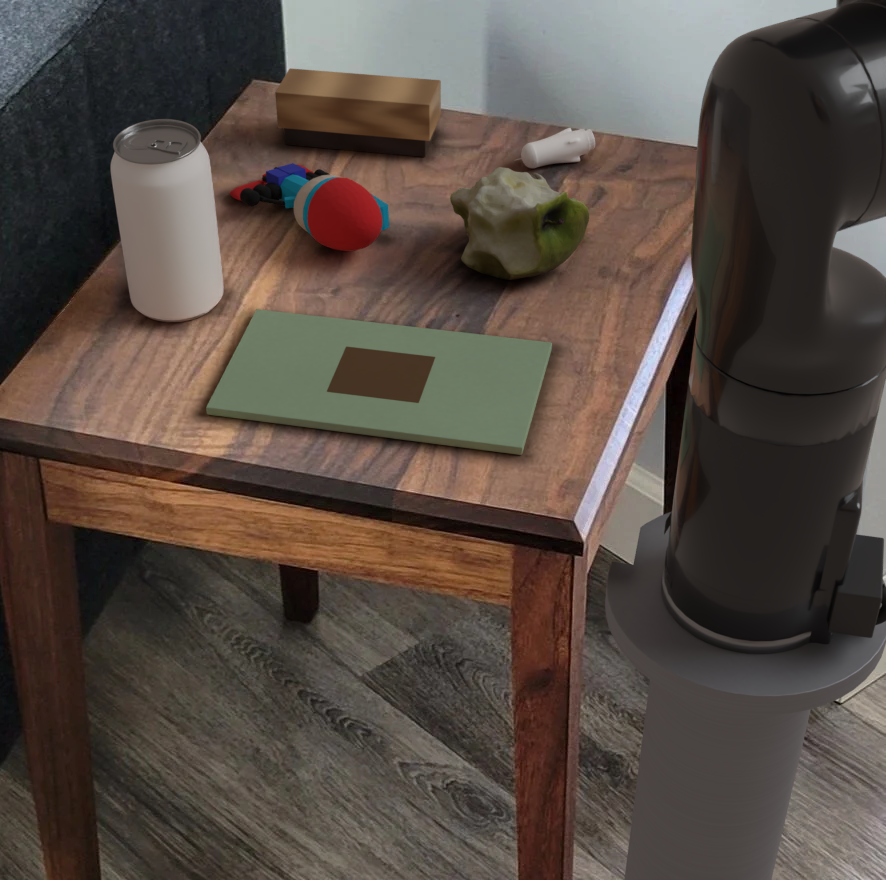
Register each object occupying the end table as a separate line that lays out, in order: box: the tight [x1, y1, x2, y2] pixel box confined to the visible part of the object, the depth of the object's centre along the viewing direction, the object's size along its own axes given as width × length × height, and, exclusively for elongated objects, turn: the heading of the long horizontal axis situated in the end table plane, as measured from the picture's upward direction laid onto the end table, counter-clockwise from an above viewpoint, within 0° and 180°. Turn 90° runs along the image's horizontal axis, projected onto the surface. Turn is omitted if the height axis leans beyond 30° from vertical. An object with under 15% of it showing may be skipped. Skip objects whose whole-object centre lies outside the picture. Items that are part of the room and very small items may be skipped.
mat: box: [205, 308, 553, 456], centre depth 104 cm, size 20×11×1 cm, turn 75°
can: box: [110, 118, 225, 323], centre depth 108 cm, size 6×6×12 cm
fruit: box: [449, 166, 590, 281], centre depth 112 cm, size 9×9×8 cm
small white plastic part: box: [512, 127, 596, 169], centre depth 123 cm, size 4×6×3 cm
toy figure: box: [228, 162, 390, 252], centre depth 117 cm, size 8×5×15 cm
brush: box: [274, 68, 442, 158], centre depth 126 cm, size 12×4×4 cm, turn 75°
